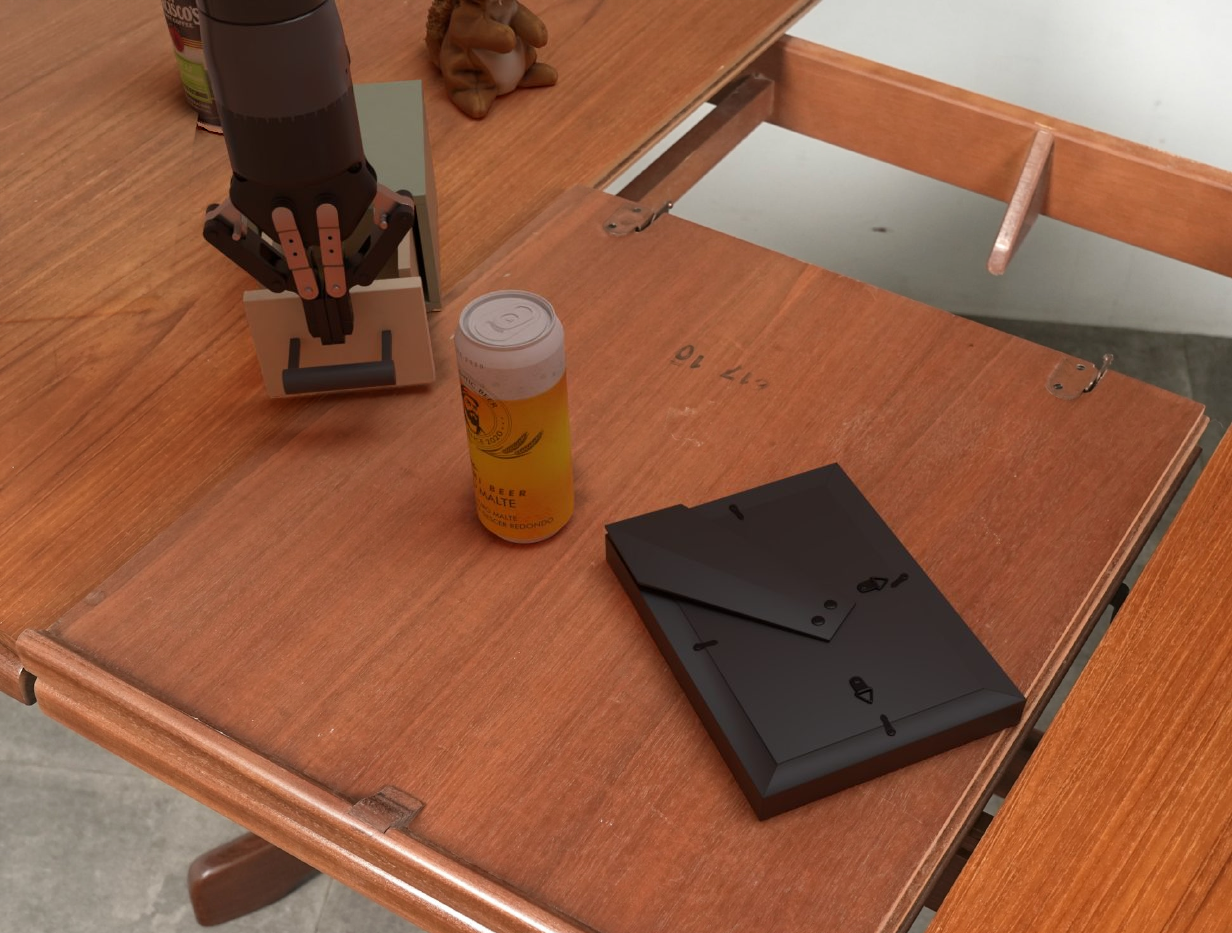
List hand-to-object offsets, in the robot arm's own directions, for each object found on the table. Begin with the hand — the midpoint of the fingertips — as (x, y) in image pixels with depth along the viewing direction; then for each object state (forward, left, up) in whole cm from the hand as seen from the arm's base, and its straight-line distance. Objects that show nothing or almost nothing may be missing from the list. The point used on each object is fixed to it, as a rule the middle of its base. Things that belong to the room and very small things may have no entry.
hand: (334, 337), depth 88 cm
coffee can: (-10, +45, -7) cm, 47 cm away
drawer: (0, +7, -6) cm, 9 cm away
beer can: (+11, -11, -7) cm, 17 cm away
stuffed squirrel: (+11, +47, -7) cm, 49 cm away
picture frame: (+26, -23, -7) cm, 36 cm away
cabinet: (0, +20, -7) cm, 21 cm away
